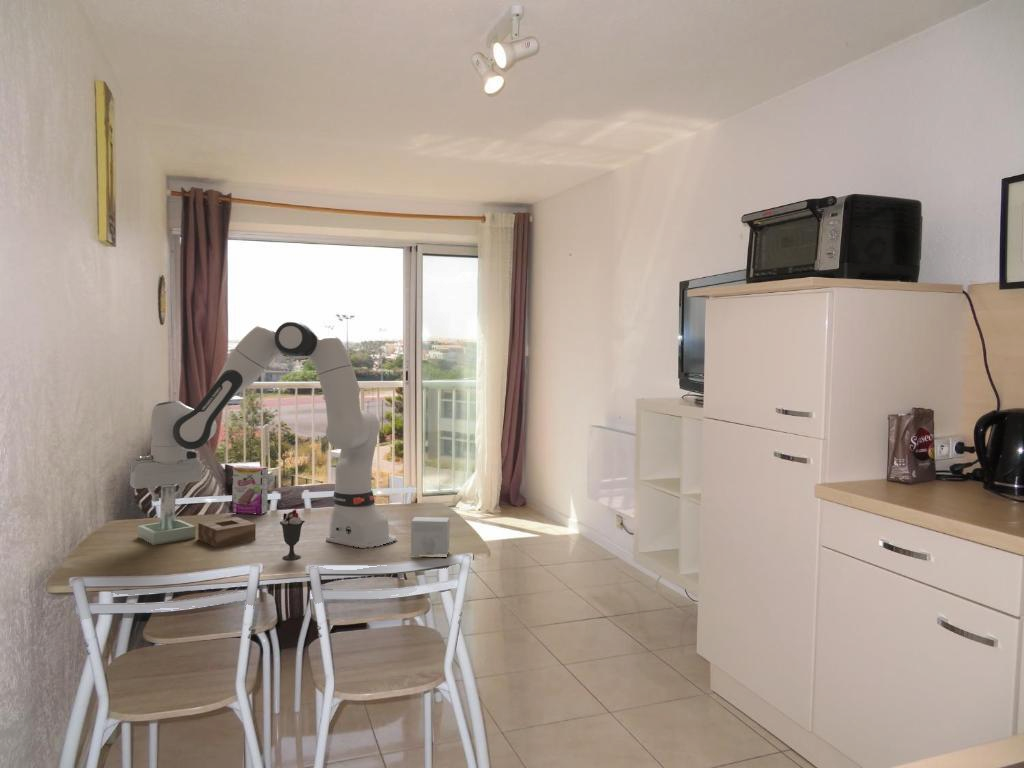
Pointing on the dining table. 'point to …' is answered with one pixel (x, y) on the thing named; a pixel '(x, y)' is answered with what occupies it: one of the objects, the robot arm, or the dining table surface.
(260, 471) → the candy bar box
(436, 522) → the skincare box
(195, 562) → the dining table surface
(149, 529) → the tray
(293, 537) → the sundae
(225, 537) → the socket block
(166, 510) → the steel pin
